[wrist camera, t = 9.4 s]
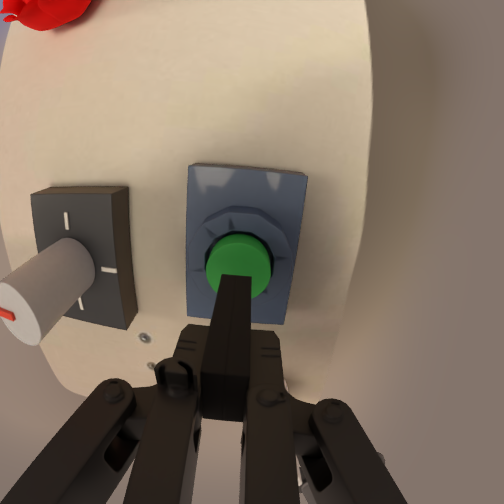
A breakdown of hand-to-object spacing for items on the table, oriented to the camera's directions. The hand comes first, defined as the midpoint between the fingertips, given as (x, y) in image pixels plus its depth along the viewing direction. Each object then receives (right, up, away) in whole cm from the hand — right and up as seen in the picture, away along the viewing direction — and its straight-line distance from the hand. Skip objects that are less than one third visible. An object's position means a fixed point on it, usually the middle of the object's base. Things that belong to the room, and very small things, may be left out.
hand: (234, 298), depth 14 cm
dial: (-14, +1, +5) cm, 15 cm away
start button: (0, +2, +4) cm, 5 cm away
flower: (-16, +26, -1) cm, 30 cm away
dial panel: (-14, +2, +8) cm, 16 cm away
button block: (0, +3, +8) cm, 8 cm away
